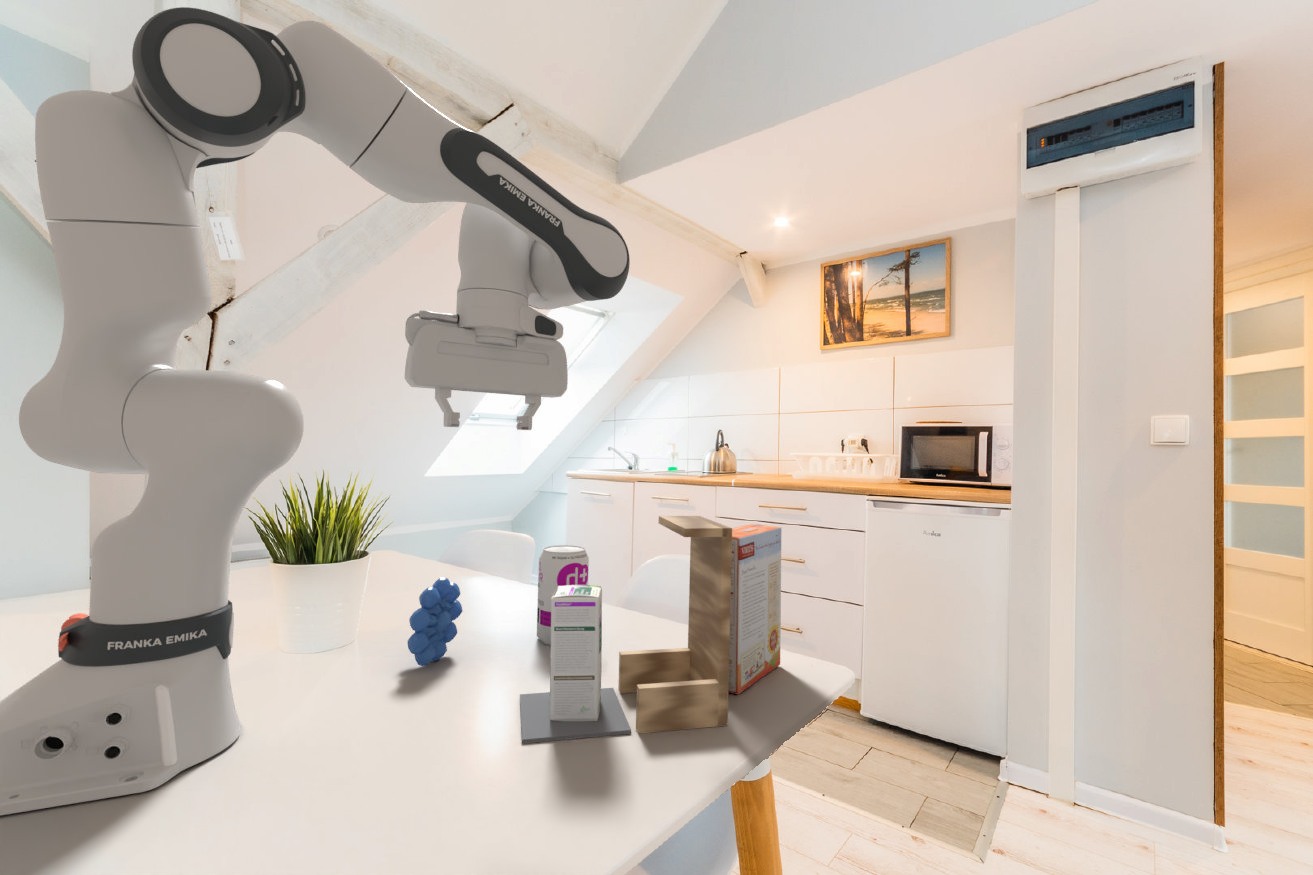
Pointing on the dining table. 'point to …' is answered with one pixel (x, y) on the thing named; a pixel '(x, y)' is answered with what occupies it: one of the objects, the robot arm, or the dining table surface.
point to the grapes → (434, 621)
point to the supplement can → (557, 580)
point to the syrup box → (576, 653)
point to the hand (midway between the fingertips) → (489, 428)
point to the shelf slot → (689, 642)
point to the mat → (543, 729)
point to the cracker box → (754, 605)
